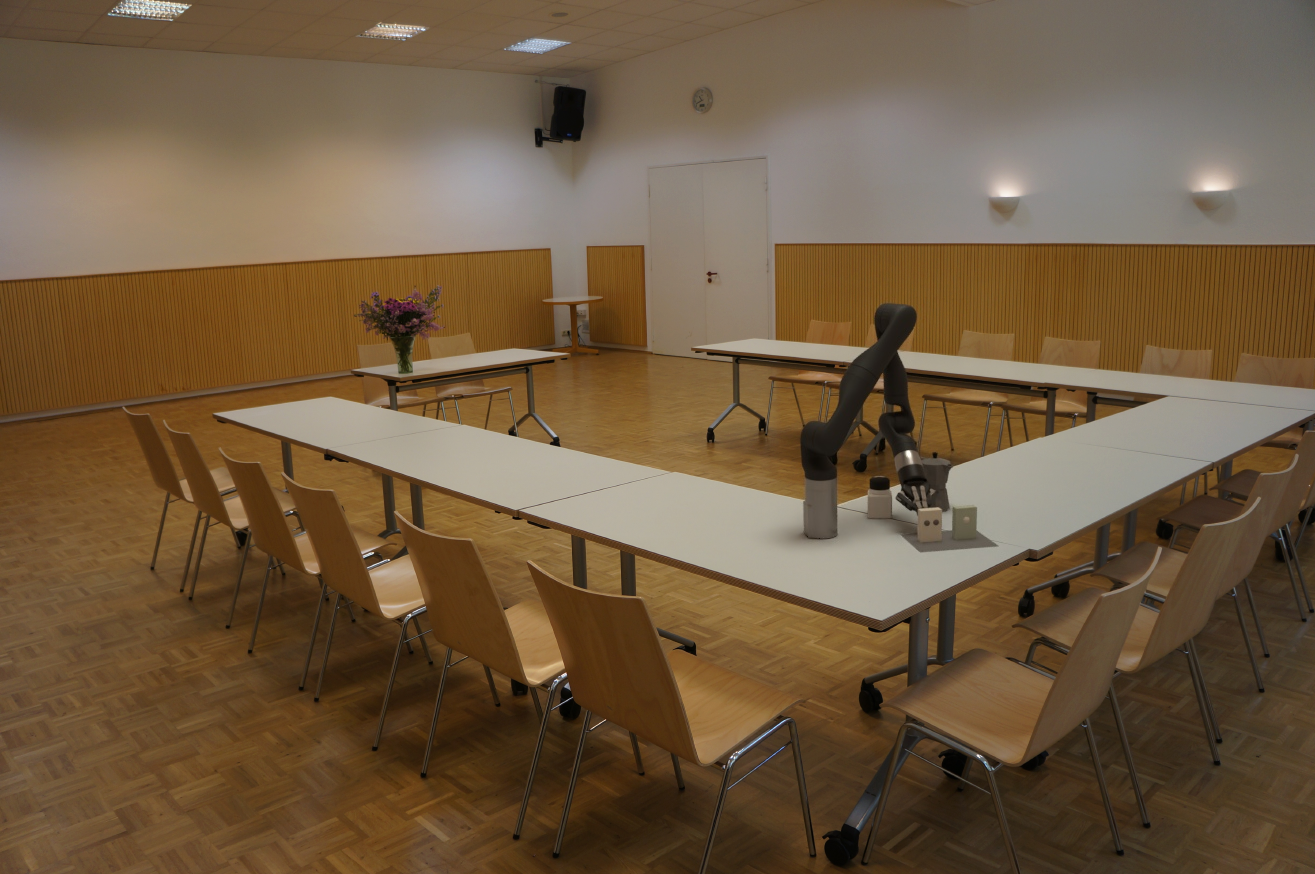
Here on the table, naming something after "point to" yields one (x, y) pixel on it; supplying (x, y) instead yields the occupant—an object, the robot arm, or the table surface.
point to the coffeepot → (937, 479)
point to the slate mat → (949, 542)
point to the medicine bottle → (880, 498)
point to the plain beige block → (929, 524)
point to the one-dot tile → (964, 522)
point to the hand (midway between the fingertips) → (925, 521)
